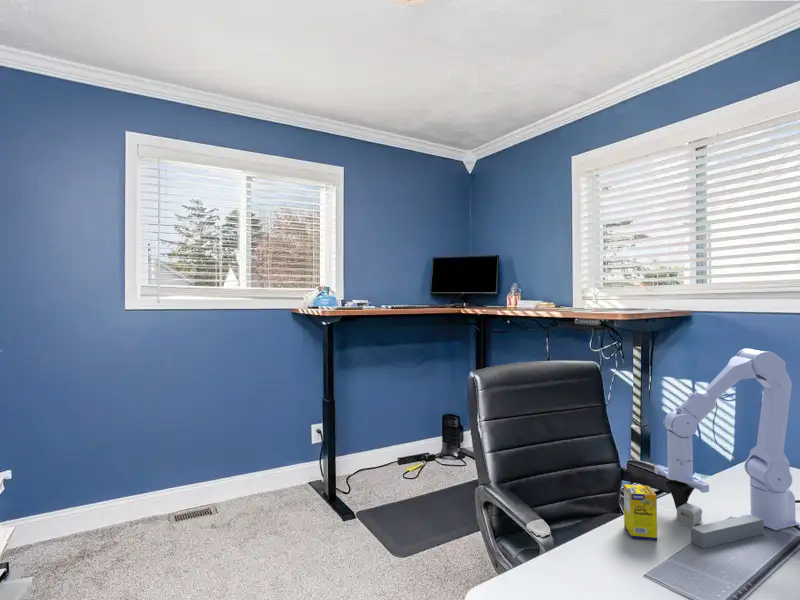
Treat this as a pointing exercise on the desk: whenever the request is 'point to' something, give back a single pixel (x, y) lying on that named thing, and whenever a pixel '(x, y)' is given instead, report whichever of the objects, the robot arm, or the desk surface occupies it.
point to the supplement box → (640, 512)
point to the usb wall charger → (689, 514)
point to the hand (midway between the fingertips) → (680, 509)
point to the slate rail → (726, 530)
